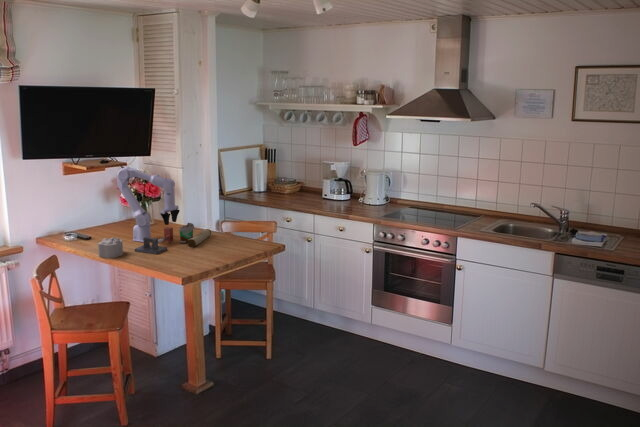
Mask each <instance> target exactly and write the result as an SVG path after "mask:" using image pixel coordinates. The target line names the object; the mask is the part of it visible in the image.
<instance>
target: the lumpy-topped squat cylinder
mask: <svg viewBox="0 0 640 427" xmlns="http://www.w3.org/2000/svg"><path fill="white" fill-rule="evenodd" d="M97 244H98V245H97V248H98V257H99V258H105V259H115V258H118V257H120V256H122V255H124V249H123V246H124V244H123V239H122V238H119V237H113V236H112V237H111V238H107V237H105V238H103V239H102V241H100V242H97Z"/></svg>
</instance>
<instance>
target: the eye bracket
mask: <svg viewBox="0 0 640 427" xmlns="http://www.w3.org/2000/svg"><path fill="white" fill-rule="evenodd" d="M158 240H159V239H158V238H157V237H155V238H153V237H151V238H148V237H145V238H143V241H144V242H143V245H141V246H138V247H135V248H134V252H136V253H142V254H150V255H158V254H161V253H163V252H165V251H168V247H167V246H160V245H159V243H158Z"/></svg>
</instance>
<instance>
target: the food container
mask: <svg viewBox="0 0 640 427" xmlns="http://www.w3.org/2000/svg"><path fill="white" fill-rule="evenodd" d="M194 229H195V224H194V223H191V222H187V224H186V225H183V226H182V227H180V226H179V229H178V231H179V238H180V245H181V244H183V245H184V244H185V245H188V244H187V243H188V241H189V240H188V239H191V238H193V237H194Z"/></svg>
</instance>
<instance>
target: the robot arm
mask: <svg viewBox="0 0 640 427" xmlns="http://www.w3.org/2000/svg"><path fill="white" fill-rule="evenodd" d="M133 178H138V179H142V180H145V181H148V182H150V184H151V185H154V186H156V187H159V188H161V189H163V190H164V193H163V196H164V207H163V209H161V210H160V211H161V212H160V216H161V218H162V219H163V223H164V225H165V226H169V224H170V216H171V222H172V223H176V222H177V221H178V220H177V219H178V215H179V213H180V209H179V205H176V199H175V197H176V196H175V185H176V182H175V180H173V179H171V178H167V177H163V176H161V175H160V174H154V175H153V174H152V175H151V174H149V173H146V172H144V171H141V170H139V169H137V168H134V167H130V166H124V167H123V168H121V169H119V170H118V172H117V174H116V179H117V180H116V181H117V183H116V184H117V188H118V190H119V191H120V193H121V195H122V196H123V197H124V199H125V200H126V202H127V204H128V205H129V207H130V209H131V210H132V212H133V215H134V219H135V222H136V224H135V225H134V226H133V228H132V234H133V235H132V236H133V239H132V241H133V242H138V243H139V242H141V243H144V241H143V238H145V237H148V238H152V237H151V236H152V235H151V223H150V221H151V214H150V213H148V212H147V211H146V210H145V209H144V208H142V206H141V204H140V202H139V200H138V199H137V198H136V196H135V195H134V193H133V192H132V189H131V188H130V187H129V185H128V184H129V181H130V179H133ZM169 212H170V213H169Z"/></svg>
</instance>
